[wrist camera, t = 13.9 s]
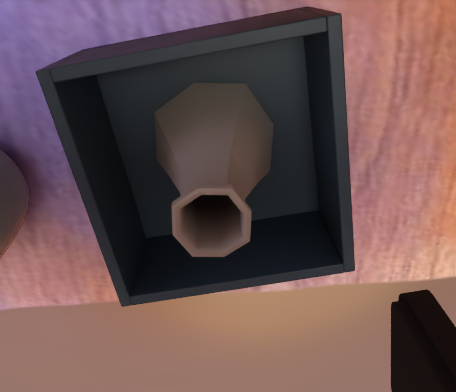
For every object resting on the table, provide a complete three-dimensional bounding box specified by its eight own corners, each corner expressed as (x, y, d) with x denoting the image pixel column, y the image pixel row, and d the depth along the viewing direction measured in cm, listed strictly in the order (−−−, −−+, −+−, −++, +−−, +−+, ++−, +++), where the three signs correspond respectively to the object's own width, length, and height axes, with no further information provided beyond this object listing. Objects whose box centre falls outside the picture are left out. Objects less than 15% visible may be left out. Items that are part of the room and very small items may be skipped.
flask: (256, 61, 23) (280, 107, 14) (287, 176, 26) (322, 274, 17) (134, 100, 24) (83, 167, 15) (177, 208, 27) (157, 316, 18)
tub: (141, 240, 29) (121, 307, 23) (81, 49, 24) (34, 71, 18) (326, 210, 29) (355, 271, 22) (309, 6, 23) (341, 13, 17)
